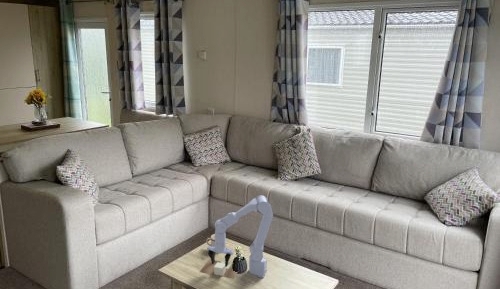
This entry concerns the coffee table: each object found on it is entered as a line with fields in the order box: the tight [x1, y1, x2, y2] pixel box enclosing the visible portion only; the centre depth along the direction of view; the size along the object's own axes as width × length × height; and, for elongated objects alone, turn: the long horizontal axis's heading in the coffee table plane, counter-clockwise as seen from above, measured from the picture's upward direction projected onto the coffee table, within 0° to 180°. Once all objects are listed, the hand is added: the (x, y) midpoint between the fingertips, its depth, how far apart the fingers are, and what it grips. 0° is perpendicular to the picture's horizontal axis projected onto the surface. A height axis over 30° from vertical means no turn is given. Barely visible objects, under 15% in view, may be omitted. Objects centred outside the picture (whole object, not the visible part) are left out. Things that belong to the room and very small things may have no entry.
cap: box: [214, 262, 226, 277], centre depth 219 cm, size 5×5×4 cm
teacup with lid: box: [205, 233, 215, 246], centre depth 244 cm, size 12×9×12 cm
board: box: [199, 258, 239, 279], centre depth 223 cm, size 20×14×4 cm
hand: (219, 264), depth 218 cm, fingers open, 7 cm apart
